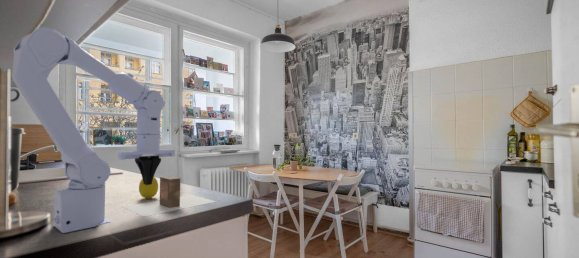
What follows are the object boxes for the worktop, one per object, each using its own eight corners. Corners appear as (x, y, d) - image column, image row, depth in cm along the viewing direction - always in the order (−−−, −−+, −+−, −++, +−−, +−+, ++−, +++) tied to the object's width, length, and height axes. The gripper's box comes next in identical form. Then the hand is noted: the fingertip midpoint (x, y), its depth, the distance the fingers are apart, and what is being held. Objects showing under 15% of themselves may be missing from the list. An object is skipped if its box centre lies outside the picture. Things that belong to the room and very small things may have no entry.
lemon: (149, 202, 91) (149, 176, 91) (134, 201, 93) (135, 175, 93) (161, 198, 97) (162, 174, 97) (147, 197, 98) (148, 173, 98)
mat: (143, 218, 75) (143, 216, 75) (121, 208, 84) (121, 206, 84) (216, 203, 92) (216, 201, 92) (191, 196, 101) (191, 194, 101)
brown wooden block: (169, 208, 84) (169, 179, 84) (158, 204, 87) (159, 177, 88) (179, 206, 86) (180, 178, 86) (169, 202, 90) (169, 175, 90)
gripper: (166, 134, 90) (165, 179, 90) (113, 134, 79) (113, 185, 79) (178, 134, 86) (178, 182, 86) (124, 135, 74) (123, 189, 74)
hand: (147, 184), depth 82 cm, fingers closed
